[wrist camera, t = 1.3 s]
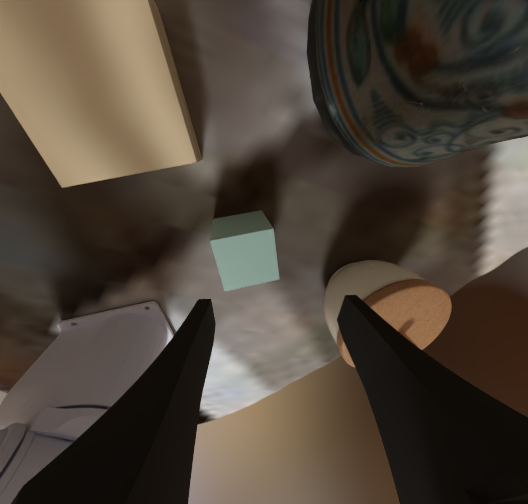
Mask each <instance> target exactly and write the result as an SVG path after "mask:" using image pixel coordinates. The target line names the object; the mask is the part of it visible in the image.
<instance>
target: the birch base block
mask: <svg viewBox="0 0 528 504" xmlns="http://www.w3.org/2000/svg"><path fill="white" fill-rule="evenodd" d="M0 93H1V94H2V96H3V98H4V99H5V101H6V102H7V104H8V105H9V107H10V108H11V110H12V111H13V113H14V115H15V116H16V118H17V119H18V121H19V122H20V124H21V125H22V127H23V128H24V130H25V132H26V133H27V135H28V136H29V138H30V139H31V141H32V142H33V144H34V145H35V147H36V148H37V150H38V152H39V153H40V155H41V156H42V158H43V159H44V161H45V162H46V164H47V165H48V167H49V169H50V170H51V172H52V173H53V175H54V176H55V178H56V179H57V181H58V182H59V184H60V185H61V187H62V188H64V187H69V186H74V185H80V184H85V183H90V182H95V181H101V180H106V179H111V178H116V177H122V176H127V175H132V174H137V173H143V172H148V171H153V170H158V169H163V168H169V167H174V166H179V165H184V164H190V163H195V162H198V161H200V160H202V157H201V153H200V150H199V146H198V143H197V139H196V136H195V132H194V129H193V125H192V122H191V118H190V115H189V112H188V108H187V105H186V101H185V98H184V94H183V91H182V87H181V84H180V80H179V77H178V73H177V70H176V66H175V63H174V59H173V56H172V53H171V49H170V46H169V42H168V39H167V35H166V32H165V28H164V25H163V21H162V18H161V14H160V12H159V10H158V7H157V5H156V3H155V1H154V0H0Z"/></svg>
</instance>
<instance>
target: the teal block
mask: <svg viewBox="0 0 528 504" xmlns="http://www.w3.org/2000/svg"><path fill="white" fill-rule="evenodd" d="M210 243H211V246H212V249H213V253H214V256H215V260H216V263H217V267H218V270H219V273H220V277H221V280H222V284H223V287H224V290H225V291H229V290H233V289H238V288H243V287H247V286H252V285H256V284H261V283H265V282H270V281H274V280H279V272H278V264H277V255H276V247H275V238H274V230H273V227H272V226H271V224H270V222H269V221H268V219H267V218H266V216H265V215H264V213H263V211H262V210H260V211H254V212H249V213H244V214H238V215H233V216H227V217H222V218H216V219H213V225H212V231H211V238H210Z"/></svg>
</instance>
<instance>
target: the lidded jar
mask: <svg viewBox="0 0 528 504" xmlns="http://www.w3.org/2000/svg"><path fill="white" fill-rule="evenodd" d="M345 295H357V296H358V297H359V298H360V299H362V300H363V301H364V302H365V303H366V304H367V305H368V306H369V307H371V308H372V309H373V310H374V311H375V312H376V313H377V314H378V315H379V316H381V317H382V318H383V319H384V320H385V321H386V322H388V323H389V324H390V325H391V326H392V327H393V328H395V329H396V330H397V331H398V332H399V333H401V334H402V335H403V336H404V337H405V338H407V339H408V340H409V341H411V342H412V343H413V344H414V345H416V346H417V347H418V348H419V349H421V350H422V349H424V348H425V347H426V346H428V345H429V344H430V343H431V342H432V341H433V340H434V339H435V338H436V337H437V336H438V335H439V334H440V332H441V331H442V330H443V328H444V327H445V325H446V323H447V321H448V319H449V317H450V313H451V301H450V297H449V295H448V294H447V292H446V291H444V290H443V289H442V288H440V287H439V286H437V285H436V284H434V283H432V282H429V281H427V280H425V279H423V278H422V277H420V276H419V275H417V274H415V273H413V272H412V271H409V270H407V269H405V268H403V267H401V266H399V265H396V264H393V263H390V262H385V261H379V260H366V261H360V262H355V263H350V264H347V265H345V266H343V267H341V268H340V269H338V270H337V271H336V272H335V273H334V274H333V275H332V277H331V278H330V280H329V282H328V285H327V288H326V290H325V293H324V299H323V310H324V316H325V319H326V323H327V326H328V328H329V330H330V333H331V334H332V336H333V338H334V340H335V342H336V344H337V345H338V349H339V351H340V353H341V355H342V356H343V358H344V360H345V361H346V362H347V363H348V364H349V365H351V366H353V367H355V365H354V363H353V361H352V359H351V356H350V354H349V352H348V350H347V347H346V345H345V343H344V341H343V338H342V335H341V332H340V329H339V326H338V322H337V318H338V315H339V312H340V309H341V306H342V303H343V300H344V297H345Z"/></svg>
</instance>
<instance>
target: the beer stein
mask: <svg viewBox="0 0 528 504" xmlns="http://www.w3.org/2000/svg"><path fill="white" fill-rule="evenodd" d="M307 57H308V65H309V72H310V79H311V86H312V93H313V100H314V103H315V105H316V107H317V109H318V111H319V114H320V116H321V118H322V120H323V122H324V125H325V127H326V129H327V131H328V133H330V134H331V135H332V136H333V137H334V138H335V139H337V140H338V141H339V142H340V143H341V144H342V145H344V146H345V147H346V148H347V149H348V150H349V151H351V152H352V153H353V154H356V155H359V156H362V157H366V158H368V159H370V160H372V161H375V162H377V163H380V164H383V165H387V166H391V167H417V166H423V165H427V164H431V163H435V162H438V161H441V160H444V159H446V158H448V157H451V156H453V155H456V154H458V153H461V152H463V151H467V150H470V149H474V148H477V147H481V146H485V145H489V144H493V143H497V142H502V141H507V140H511V139H516V138H522V137H526V136H528V0H313V2H312V6H311V10H310V15H309V22H308V41H307Z"/></svg>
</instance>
